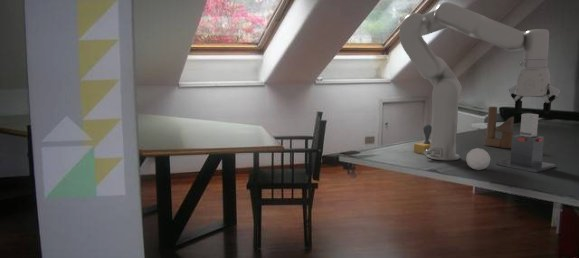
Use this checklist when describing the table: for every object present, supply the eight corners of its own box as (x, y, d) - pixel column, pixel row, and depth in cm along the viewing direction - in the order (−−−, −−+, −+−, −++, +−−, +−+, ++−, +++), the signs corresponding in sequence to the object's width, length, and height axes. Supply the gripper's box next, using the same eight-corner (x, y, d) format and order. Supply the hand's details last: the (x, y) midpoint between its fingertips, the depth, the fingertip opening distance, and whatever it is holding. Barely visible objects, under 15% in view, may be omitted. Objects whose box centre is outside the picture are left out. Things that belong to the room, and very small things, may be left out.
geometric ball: (477, 175, 152) (486, 156, 153) (488, 173, 144) (498, 153, 146) (458, 164, 153) (468, 146, 154) (468, 161, 145) (478, 142, 146)
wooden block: (508, 148, 185) (512, 108, 183) (484, 145, 193) (486, 106, 190) (511, 147, 188) (515, 107, 185) (487, 144, 196) (490, 106, 193)
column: (528, 164, 151) (532, 115, 149) (517, 162, 155) (521, 114, 152) (534, 162, 154) (539, 114, 151) (523, 160, 157) (527, 113, 155)
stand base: (535, 172, 145) (538, 141, 143) (496, 164, 157) (499, 135, 155) (555, 166, 153) (558, 137, 151) (516, 159, 164) (519, 132, 163)
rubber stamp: (424, 154, 175) (425, 126, 173) (413, 152, 180) (414, 124, 178) (439, 151, 180) (441, 124, 178) (428, 149, 185) (429, 122, 183)
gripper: (505, 65, 154) (502, 111, 156) (556, 64, 140) (552, 115, 142) (516, 65, 158) (513, 110, 161) (566, 64, 144) (562, 113, 146)
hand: (531, 112), depth 151 cm, fingers open, 9 cm apart
